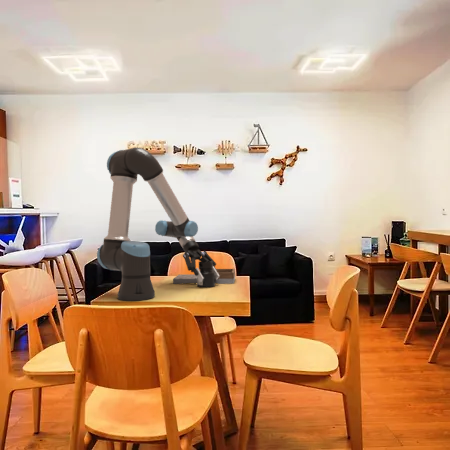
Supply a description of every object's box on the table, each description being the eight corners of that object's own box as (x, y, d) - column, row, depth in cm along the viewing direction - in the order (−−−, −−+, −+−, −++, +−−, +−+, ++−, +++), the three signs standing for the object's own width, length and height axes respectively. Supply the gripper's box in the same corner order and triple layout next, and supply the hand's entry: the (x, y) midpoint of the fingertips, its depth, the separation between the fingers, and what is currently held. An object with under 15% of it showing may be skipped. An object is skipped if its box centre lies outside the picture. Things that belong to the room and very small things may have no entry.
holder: (233, 278, 194) (233, 272, 194) (206, 278, 195) (206, 272, 195) (235, 274, 210) (234, 268, 210) (209, 274, 211) (209, 268, 211)
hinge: (233, 283, 193) (233, 278, 193) (172, 284, 195) (172, 278, 195) (235, 278, 211) (235, 273, 211) (179, 278, 213) (179, 273, 213)
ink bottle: (196, 284, 192) (196, 260, 192) (214, 284, 192) (214, 260, 192) (196, 288, 182) (196, 262, 182) (215, 287, 183) (215, 262, 182)
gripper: (202, 248, 206) (223, 281, 194) (168, 251, 191) (188, 286, 179) (208, 238, 202) (230, 271, 190) (174, 240, 187) (195, 276, 175)
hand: (210, 278), depth 185 cm, fingers open, 9 cm apart
